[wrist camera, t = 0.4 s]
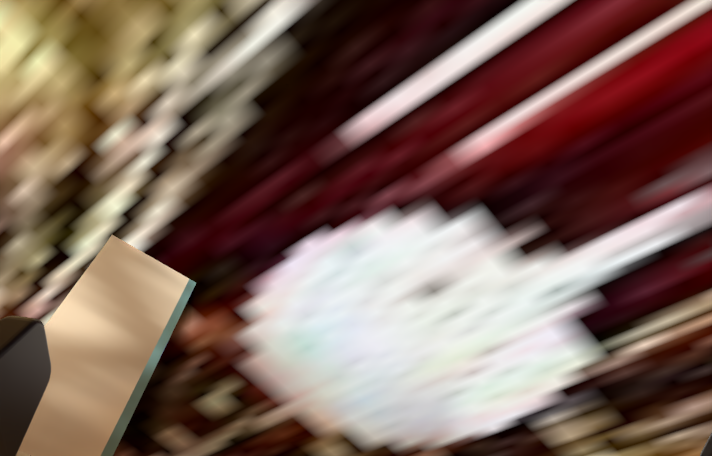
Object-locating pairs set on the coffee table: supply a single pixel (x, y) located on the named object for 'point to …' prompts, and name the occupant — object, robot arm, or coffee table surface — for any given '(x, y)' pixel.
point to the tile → (104, 351)
